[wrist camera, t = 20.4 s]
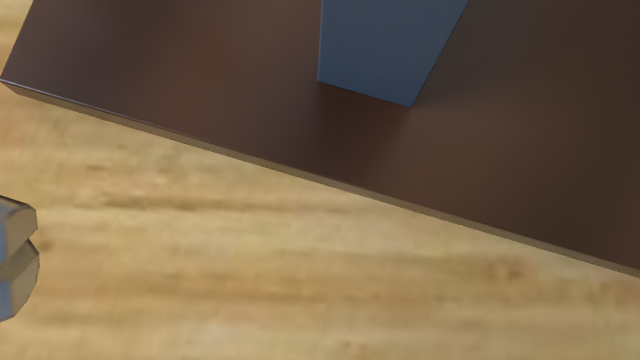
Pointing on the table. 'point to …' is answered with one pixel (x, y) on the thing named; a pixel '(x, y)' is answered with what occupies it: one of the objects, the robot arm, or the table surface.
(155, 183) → the table surface
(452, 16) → the book
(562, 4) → the dark brown board
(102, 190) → the table surface
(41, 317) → the table surface
